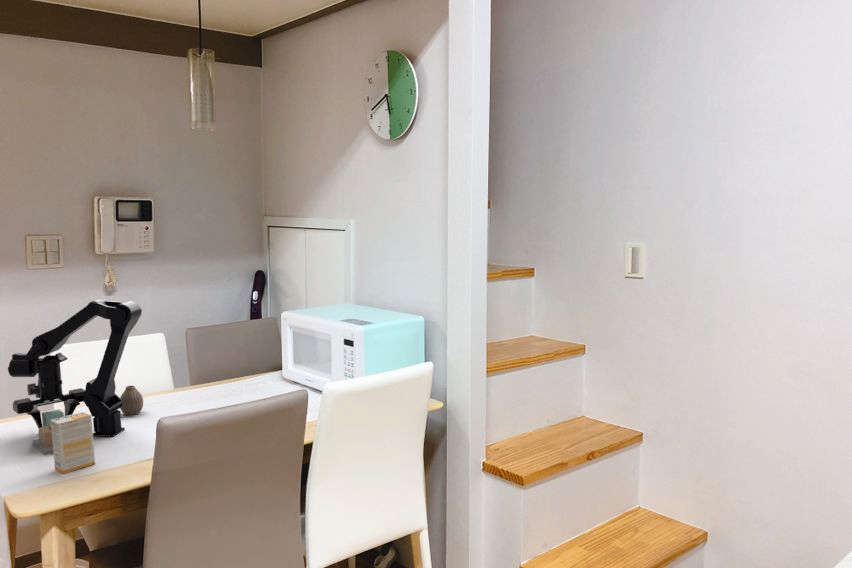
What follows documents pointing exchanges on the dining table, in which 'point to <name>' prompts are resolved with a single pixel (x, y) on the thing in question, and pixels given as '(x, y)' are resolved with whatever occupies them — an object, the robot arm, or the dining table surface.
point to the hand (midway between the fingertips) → (54, 429)
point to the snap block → (51, 416)
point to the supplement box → (72, 442)
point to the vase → (131, 401)
